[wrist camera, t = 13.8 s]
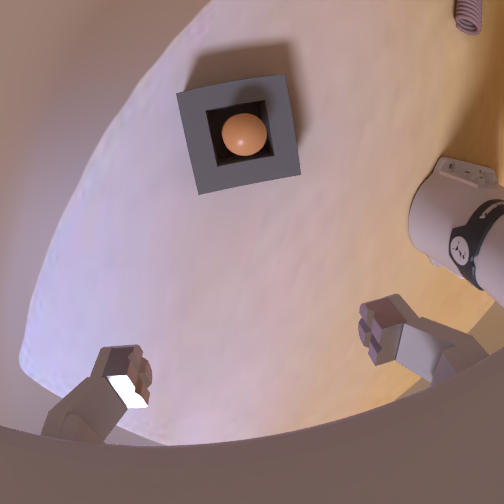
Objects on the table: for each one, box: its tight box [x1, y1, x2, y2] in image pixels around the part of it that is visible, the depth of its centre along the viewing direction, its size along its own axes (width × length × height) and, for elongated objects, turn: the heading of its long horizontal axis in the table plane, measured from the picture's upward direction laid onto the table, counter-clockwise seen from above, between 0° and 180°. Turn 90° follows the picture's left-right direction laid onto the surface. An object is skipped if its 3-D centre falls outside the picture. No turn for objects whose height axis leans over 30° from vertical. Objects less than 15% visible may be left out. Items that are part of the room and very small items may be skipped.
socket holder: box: [176, 74, 301, 195], centre depth 30 cm, size 11×11×5 cm
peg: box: [221, 113, 267, 156], centre depth 29 cm, size 4×4×8 cm
